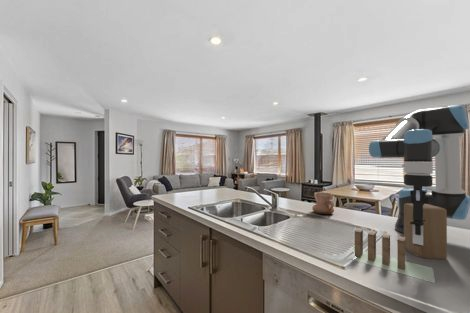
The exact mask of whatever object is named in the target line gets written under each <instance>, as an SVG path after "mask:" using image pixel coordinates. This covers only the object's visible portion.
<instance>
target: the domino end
mask: <svg viewBox="0 0 470 313" xmlns="http://www.w3.org/2000/svg"><path fill="white" fill-rule="evenodd" d="M363 240H364V229H363V228H359V227H358V228H356V229H355V230H354V249H355V256H356V257H358V258H361V256H362V254H363V251H364V241H363Z"/></svg>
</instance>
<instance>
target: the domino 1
mask: <svg viewBox="0 0 470 313" xmlns="http://www.w3.org/2000/svg"><path fill="white" fill-rule="evenodd" d="M367 252H368V260H369V261H373V262H374V261H375V258H376V254H377V231H373V230H369V231H368V233H367Z"/></svg>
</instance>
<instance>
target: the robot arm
mask: <svg viewBox="0 0 470 313" xmlns="http://www.w3.org/2000/svg"><path fill="white" fill-rule="evenodd" d="M469 122H470V121H469V117H468V112H467V110H466V107H465V106H464V105H462V104H454V105H453V104H451V105H450V104H449V105H445V106H439V107H431V108H424V109H417V110H415V111H413V112H409V113H408V114H406V115H404V116H402V117H401V118H400V119H399V120H398V121H397V122H396V123H395V126H394V127H393V129H392V130H390V131H389V132H388V133H387V134H386V135H384V137H383V138H382V139H380V140H379V139H378V140H372V141H370V143H369V146H368V153H369V156H370V157H372V158H378V159H379V158H380V159H381V158H382V159H385V158H386V159H390V158H391V159H393V158H396V159H397V158H398V159H399V158H402V159H403V162H404V163H403V164H401V167H402V168H403V172H404V173H405V174H404V175H403V184H404V185H405V186H410V187H411V186H412V187H413V188H402V189H400V190H399V192H398V217H397V219H396V222H395V224H394V230H395V231H397V232H399V233H402V234H404V204H406V203H412V204H413V222H410V224H413V243H414V244H419V245H423V224H424V223H423V221H425V219H423V205H424V204H429V205H433V206H437V207H440V208H444V209H446V211H447V219H451V220H458V221H459V220H460V221H463V220H466V219H467V217H468V214H469V210H470V196H469V195H466V191H465V190H464V189H463V188H462V186H461V185H462V184H461V182H462V181H461V180H462V179H461V143H460V141H461V140H460V138H461V137H462V136H463V135H464V134H465V130H469V128H470V123H469ZM433 158H434V164H433ZM434 165H435V166H434ZM433 170H435V172H433ZM433 173H435V175H434V176H435V186H434V187H433V188H431V191H428V189H426V187H427V188H428V187H432V186H433V176H432V174H433ZM423 187H425V188H423Z"/></svg>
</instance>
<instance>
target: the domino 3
mask: <svg viewBox="0 0 470 313" xmlns="http://www.w3.org/2000/svg"><path fill="white" fill-rule="evenodd" d="M396 244H397V259H398V269H402V270H405V261H406V249H405V237H404V236H401V235H400V236H399V235H398V237H397V243H396Z"/></svg>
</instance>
